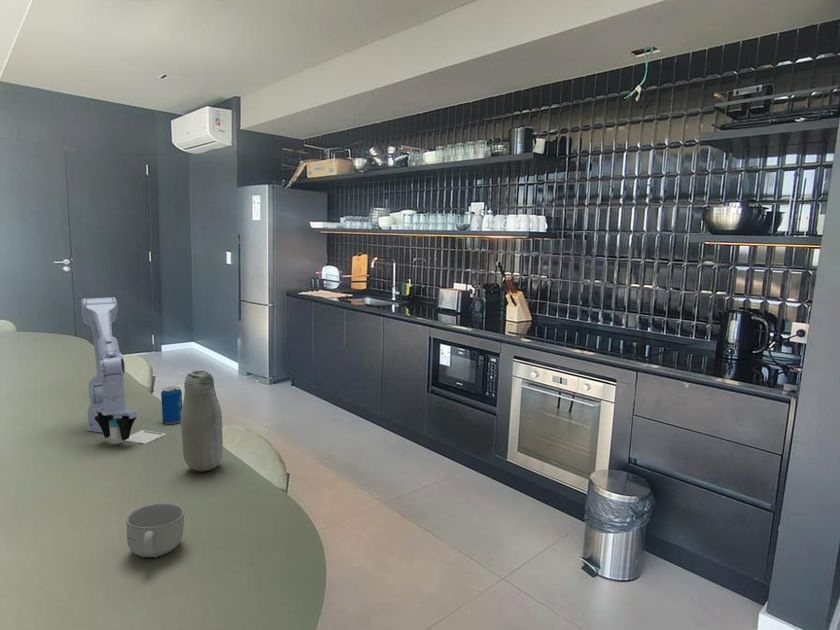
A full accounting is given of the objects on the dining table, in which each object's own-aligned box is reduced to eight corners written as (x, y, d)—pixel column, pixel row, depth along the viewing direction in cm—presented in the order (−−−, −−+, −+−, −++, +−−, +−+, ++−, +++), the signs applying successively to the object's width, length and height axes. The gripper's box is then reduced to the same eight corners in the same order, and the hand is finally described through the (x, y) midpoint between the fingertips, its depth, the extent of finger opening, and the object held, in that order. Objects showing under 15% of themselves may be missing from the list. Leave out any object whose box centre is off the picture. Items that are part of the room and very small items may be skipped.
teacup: (141, 536, 117) (139, 501, 116) (193, 534, 118) (191, 500, 117) (110, 576, 103) (107, 537, 102) (169, 573, 104) (167, 535, 103)
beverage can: (175, 425, 185) (173, 391, 183) (158, 424, 186) (156, 390, 184) (187, 419, 191) (185, 386, 189) (170, 418, 192) (168, 385, 191)
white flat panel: (120, 440, 171) (120, 439, 171) (142, 431, 179) (142, 429, 179) (145, 444, 168) (145, 443, 168) (167, 434, 176) (167, 433, 176)
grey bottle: (230, 464, 154) (226, 368, 150) (205, 479, 145) (200, 377, 141) (202, 459, 157) (197, 365, 153) (176, 473, 148) (170, 374, 144)
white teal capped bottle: (107, 446, 166) (105, 421, 165) (117, 441, 170) (115, 417, 169) (117, 447, 165) (115, 422, 164) (126, 443, 169) (125, 418, 168)
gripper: (84, 396, 164) (87, 439, 166) (121, 401, 159) (124, 445, 161) (103, 390, 170) (106, 431, 172) (140, 395, 166) (143, 437, 168)
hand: (116, 437), depth 167 cm, fingers open, 6 cm apart
